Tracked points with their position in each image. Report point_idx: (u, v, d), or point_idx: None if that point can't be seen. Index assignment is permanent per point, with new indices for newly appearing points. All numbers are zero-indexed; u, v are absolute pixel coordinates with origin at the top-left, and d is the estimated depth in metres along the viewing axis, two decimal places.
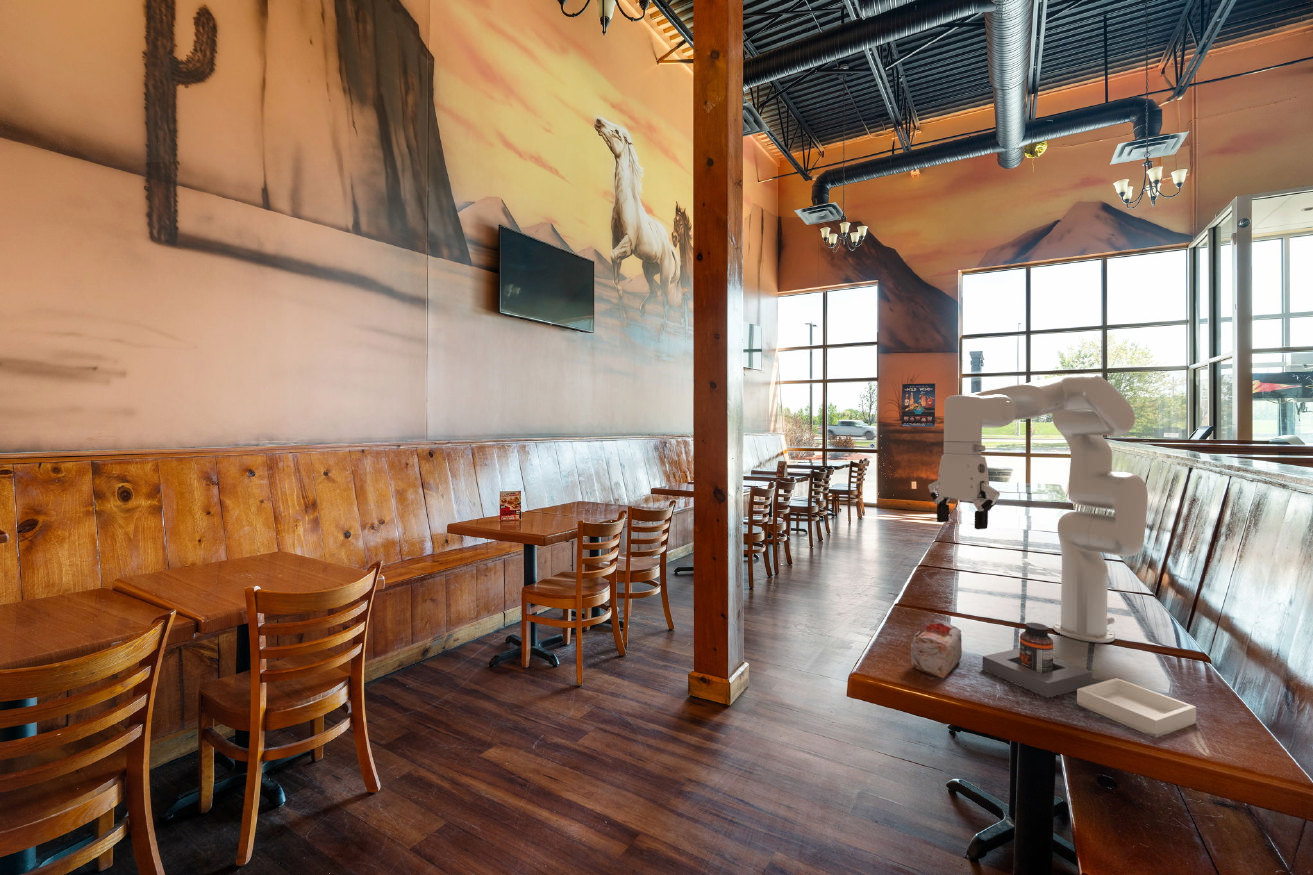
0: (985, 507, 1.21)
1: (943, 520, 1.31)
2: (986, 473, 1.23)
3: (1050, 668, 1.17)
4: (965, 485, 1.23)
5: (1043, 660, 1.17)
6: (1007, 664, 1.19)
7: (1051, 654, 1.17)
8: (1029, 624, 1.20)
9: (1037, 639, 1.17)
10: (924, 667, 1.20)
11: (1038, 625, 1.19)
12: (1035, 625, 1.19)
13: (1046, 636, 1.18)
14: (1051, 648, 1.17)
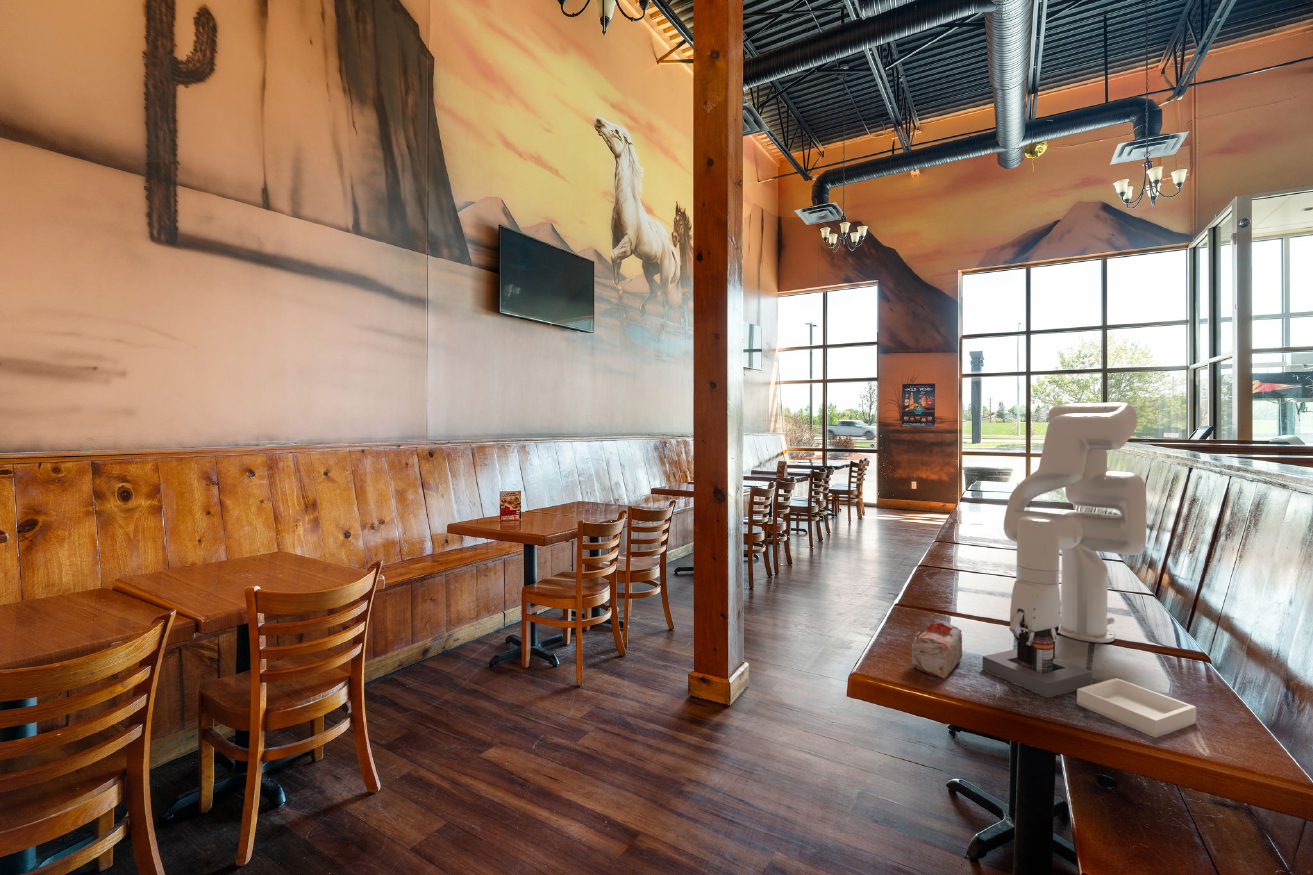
0: None
1: None
2: None
3: (1050, 668, 1.17)
4: (1056, 613, 1.18)
5: (1043, 659, 1.17)
6: (1007, 664, 1.19)
7: (1051, 654, 1.17)
8: None
9: (1037, 639, 1.17)
10: (925, 667, 1.20)
11: None
12: None
13: (1046, 636, 1.18)
14: (1051, 648, 1.17)
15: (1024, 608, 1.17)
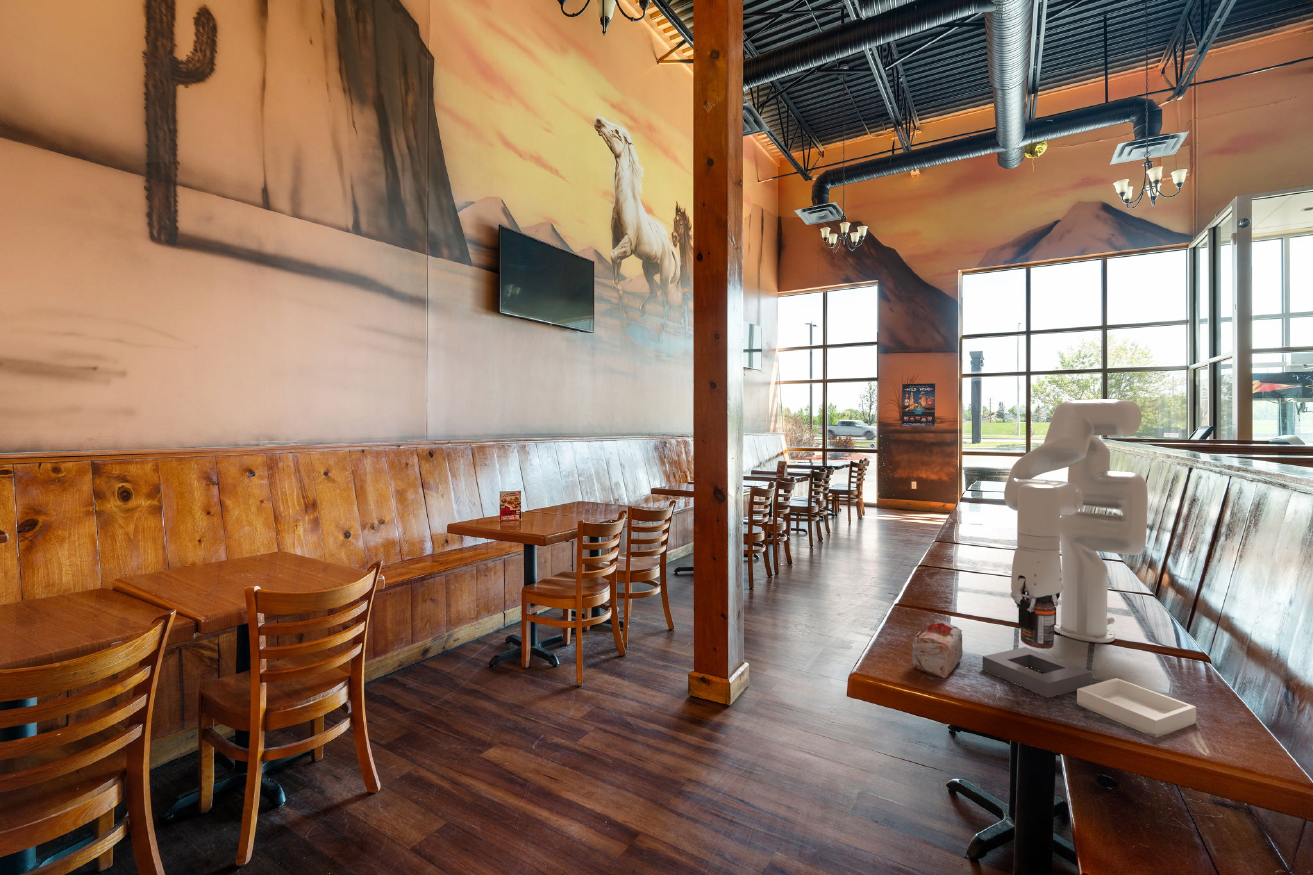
0: None
1: None
2: None
3: (1052, 634, 1.17)
4: (1057, 579, 1.18)
5: (1045, 625, 1.17)
6: (1007, 664, 1.19)
7: (1052, 620, 1.17)
8: None
9: (1038, 605, 1.18)
10: (926, 667, 1.20)
11: None
12: None
13: (1047, 602, 1.18)
14: (1052, 614, 1.17)
15: (1025, 574, 1.17)
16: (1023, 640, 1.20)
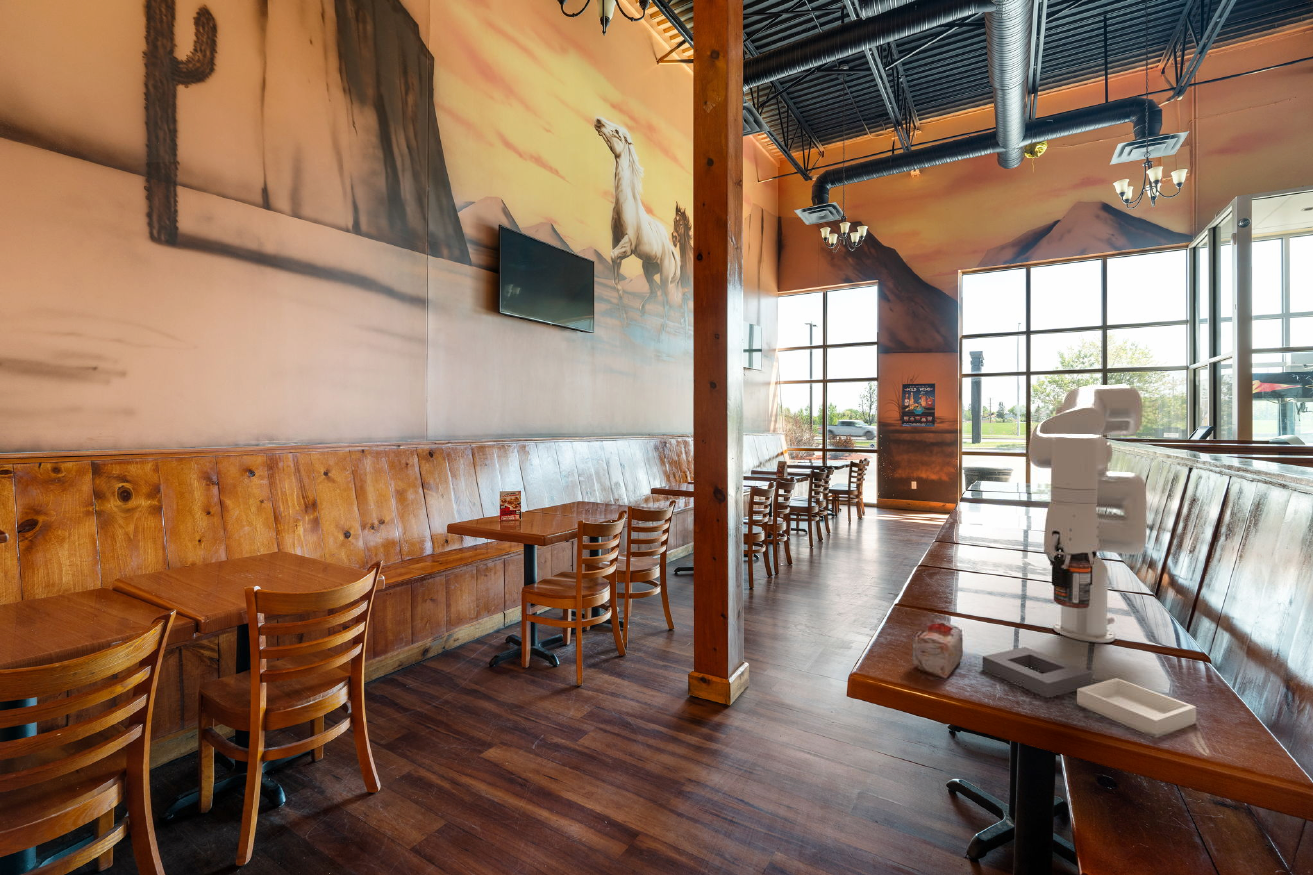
0: None
1: None
2: None
3: (1087, 593, 1.11)
4: (1093, 536, 1.12)
5: (1080, 584, 1.11)
6: (1007, 664, 1.19)
7: (1088, 578, 1.11)
8: None
9: (1073, 562, 1.12)
10: (926, 667, 1.20)
11: None
12: None
13: (1083, 559, 1.12)
14: (1088, 572, 1.11)
15: (1059, 529, 1.11)
16: (1057, 600, 1.14)
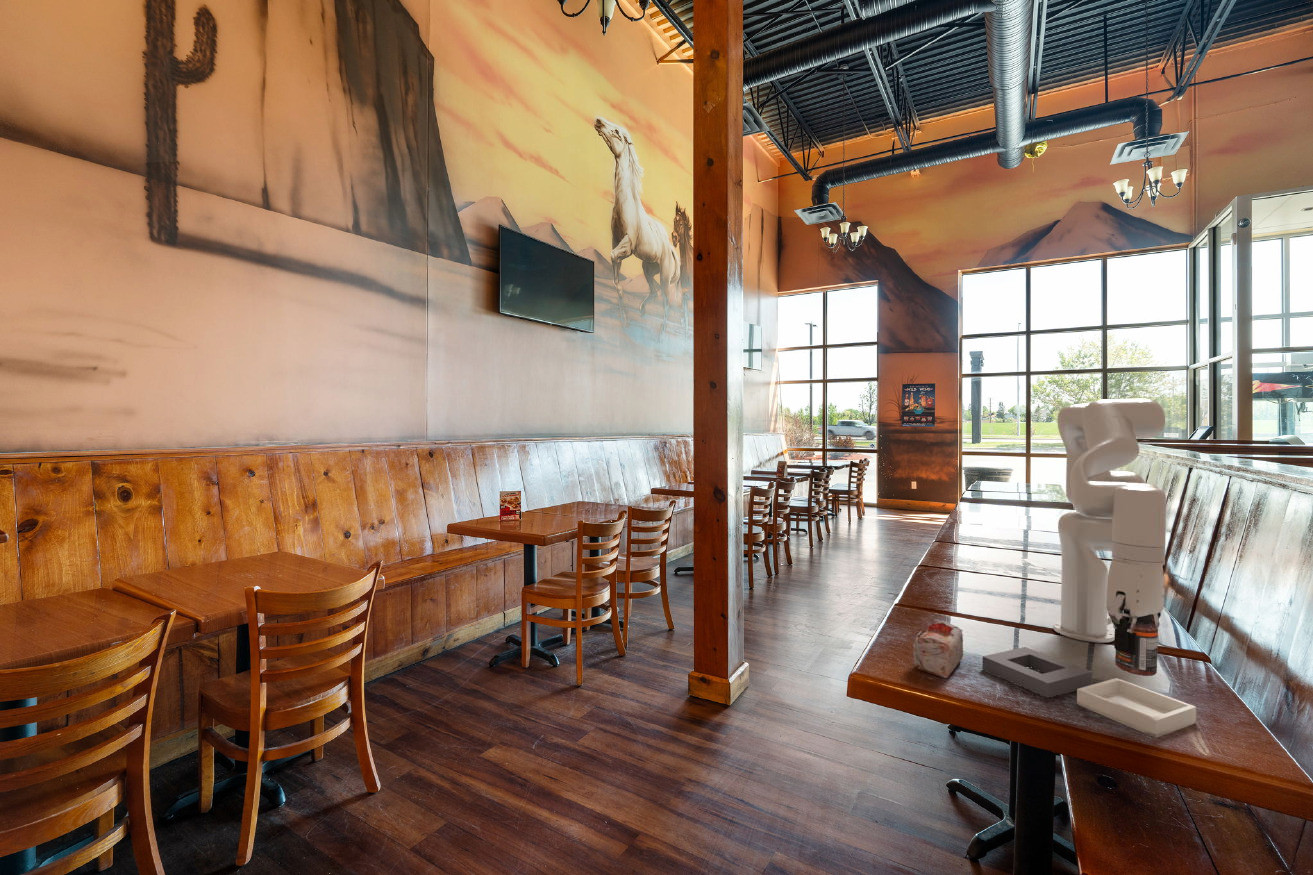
0: None
1: None
2: None
3: (1155, 659, 1.02)
4: (1160, 596, 1.03)
5: (1148, 649, 1.02)
6: (1007, 664, 1.19)
7: (1156, 643, 1.02)
8: None
9: (1139, 625, 1.02)
10: (927, 667, 1.20)
11: None
12: None
13: (1150, 622, 1.03)
14: (1156, 636, 1.02)
15: (1125, 590, 1.02)
16: (1120, 665, 1.04)
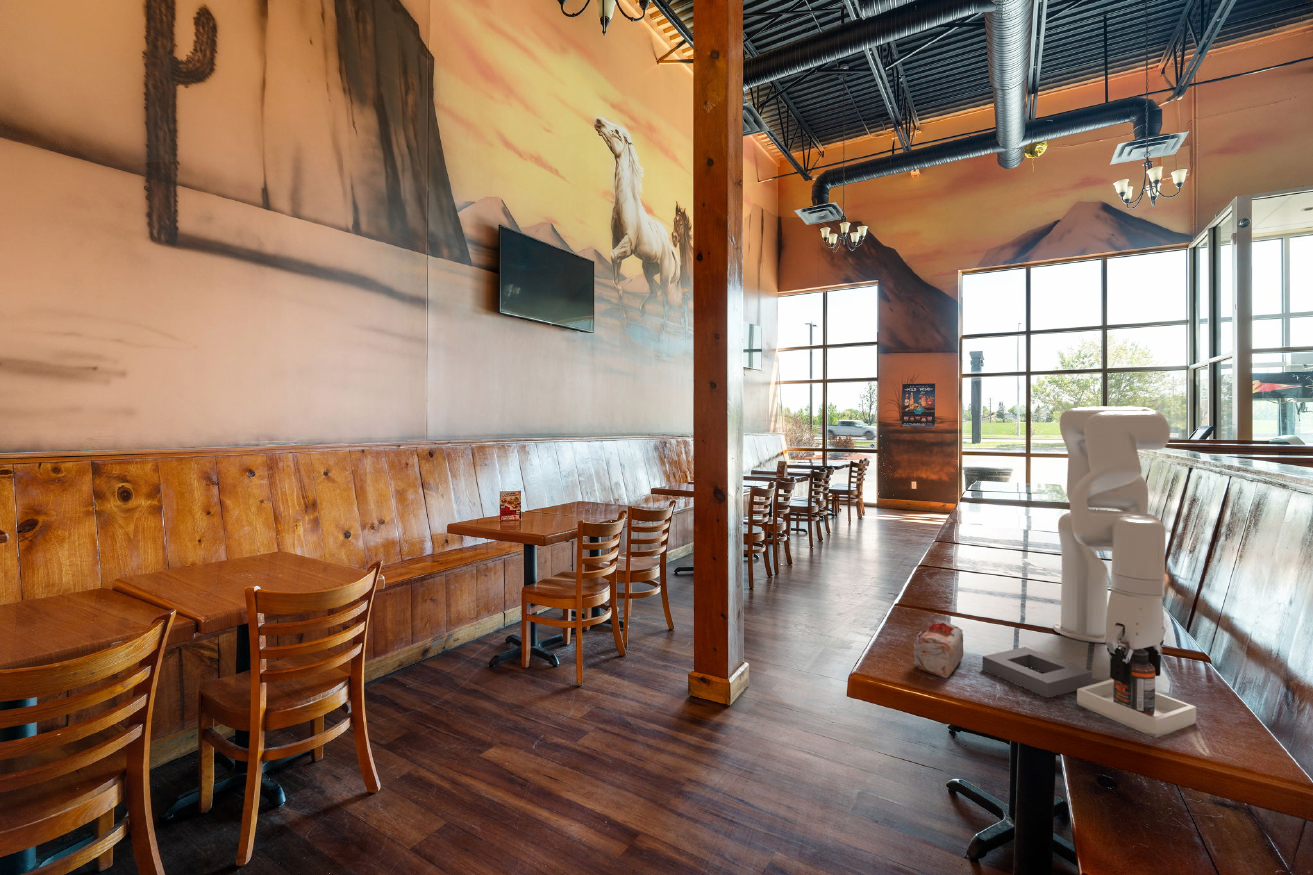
0: None
1: None
2: None
3: (1153, 700, 1.02)
4: (1159, 628, 1.03)
5: (1145, 690, 1.02)
6: (1007, 664, 1.19)
7: (1153, 683, 1.02)
8: (1125, 649, 1.05)
9: (1136, 666, 1.03)
10: (927, 667, 1.20)
11: (1136, 650, 1.04)
12: None
13: (1147, 663, 1.03)
14: (1153, 677, 1.02)
15: (1124, 622, 1.02)
16: None
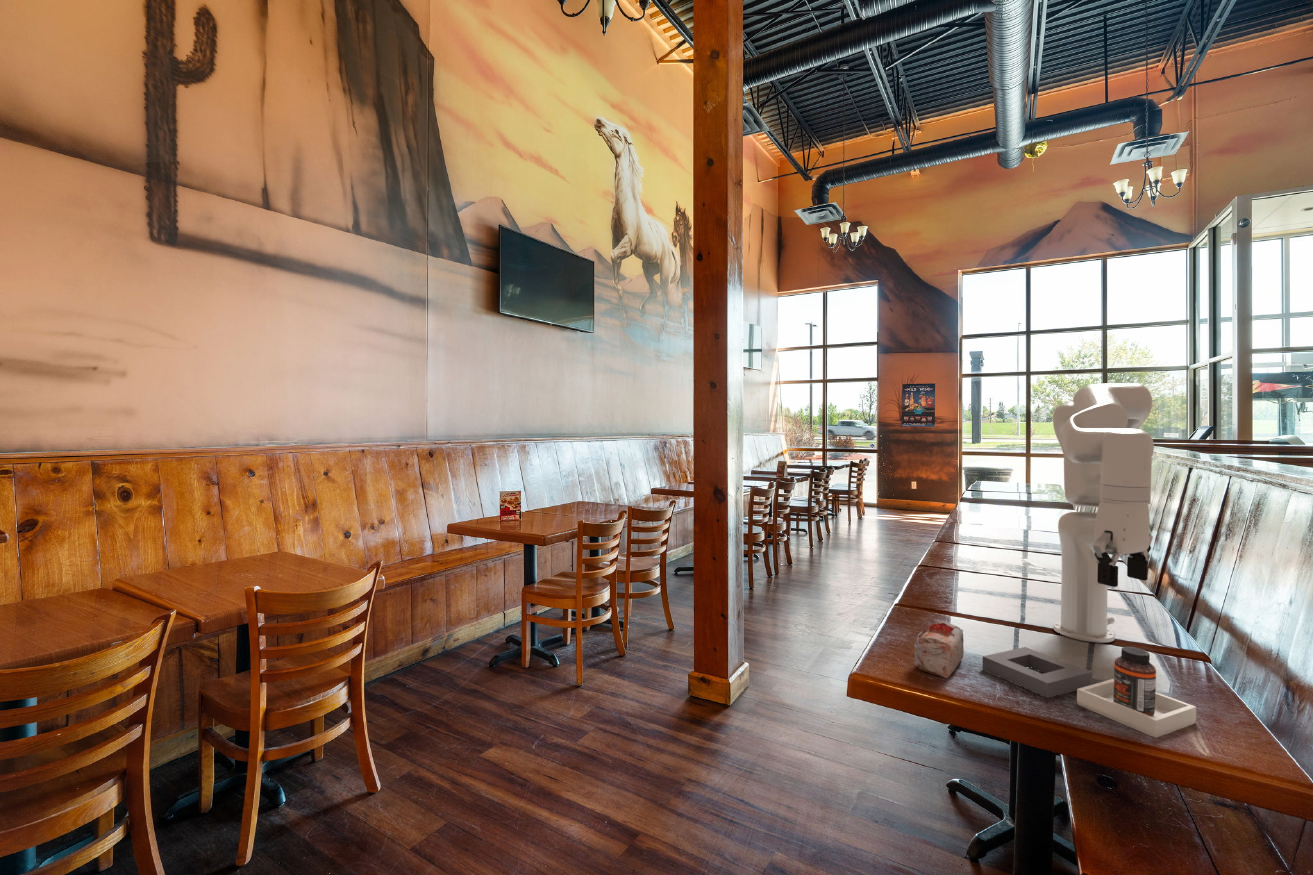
0: None
1: None
2: None
3: (1153, 700, 1.02)
4: (1145, 535, 1.08)
5: (1146, 690, 1.02)
6: (1007, 664, 1.19)
7: (1154, 684, 1.02)
8: (1126, 649, 1.05)
9: (1137, 667, 1.02)
10: (928, 667, 1.20)
11: (1137, 651, 1.04)
12: (1133, 650, 1.04)
13: (1148, 663, 1.03)
14: (1154, 677, 1.02)
15: (1112, 529, 1.06)
16: None
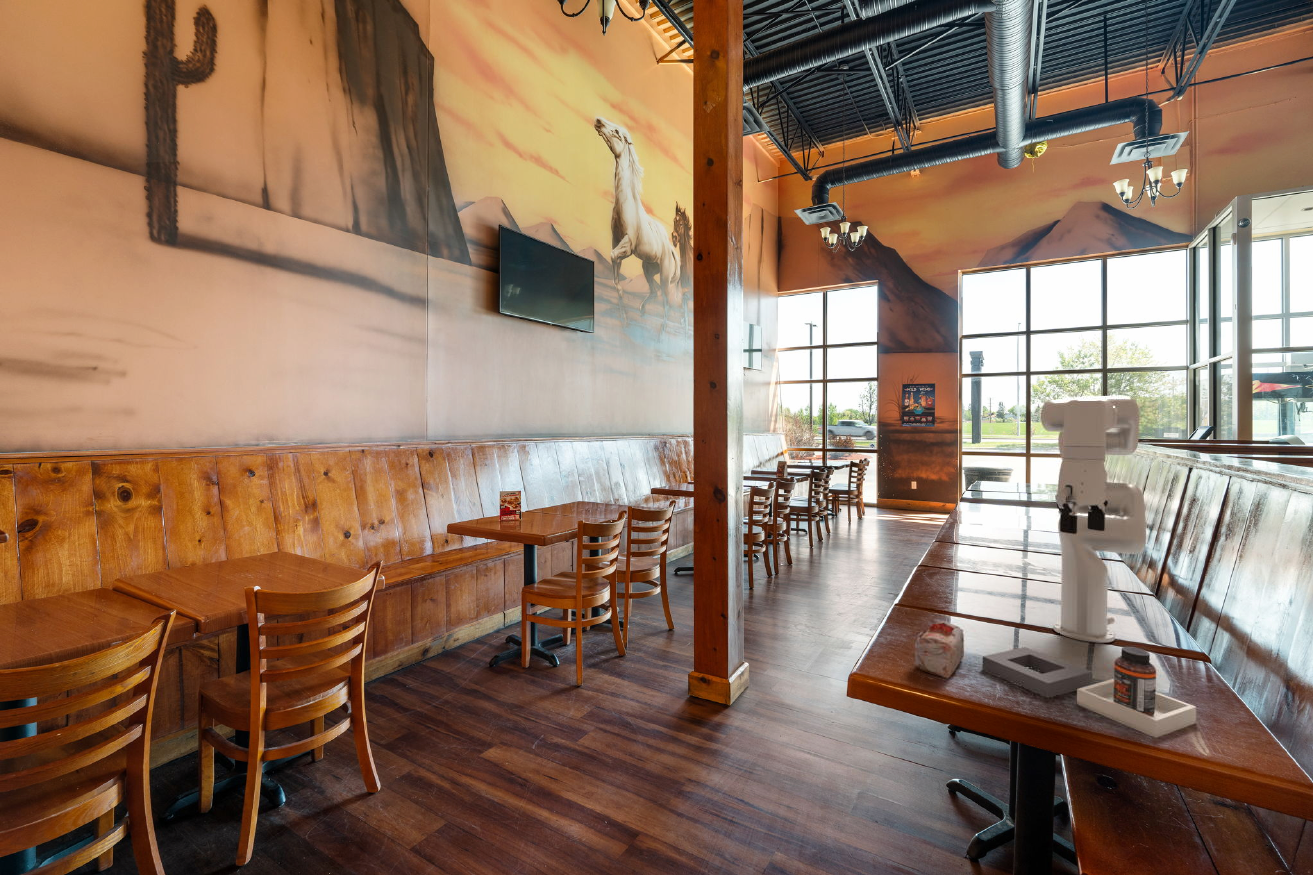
0: None
1: None
2: None
3: (1153, 700, 1.02)
4: (1102, 490, 1.24)
5: (1145, 690, 1.02)
6: (1007, 664, 1.19)
7: (1154, 684, 1.02)
8: (1126, 649, 1.05)
9: (1137, 666, 1.03)
10: (929, 667, 1.20)
11: (1137, 651, 1.04)
12: (1133, 650, 1.05)
13: (1148, 663, 1.03)
14: (1154, 677, 1.02)
15: (1072, 483, 1.22)
16: None
